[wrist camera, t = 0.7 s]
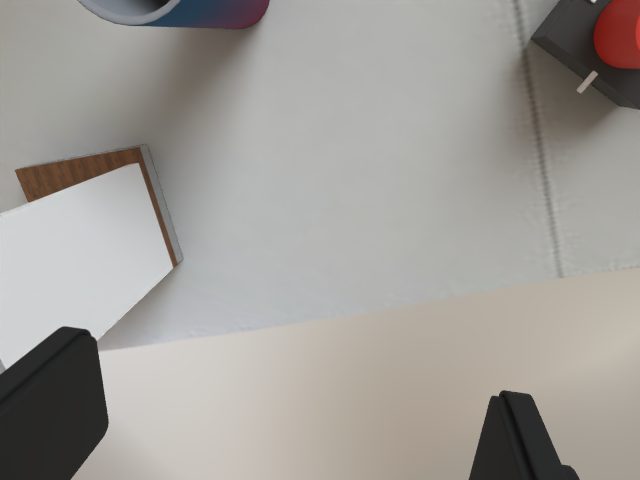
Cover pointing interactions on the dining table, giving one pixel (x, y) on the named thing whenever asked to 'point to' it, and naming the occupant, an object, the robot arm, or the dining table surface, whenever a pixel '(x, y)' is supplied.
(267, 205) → the dining table surface
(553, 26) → the marked dark base plate
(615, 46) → the knob
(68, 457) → the robot arm
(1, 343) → the display case
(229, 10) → the cup
